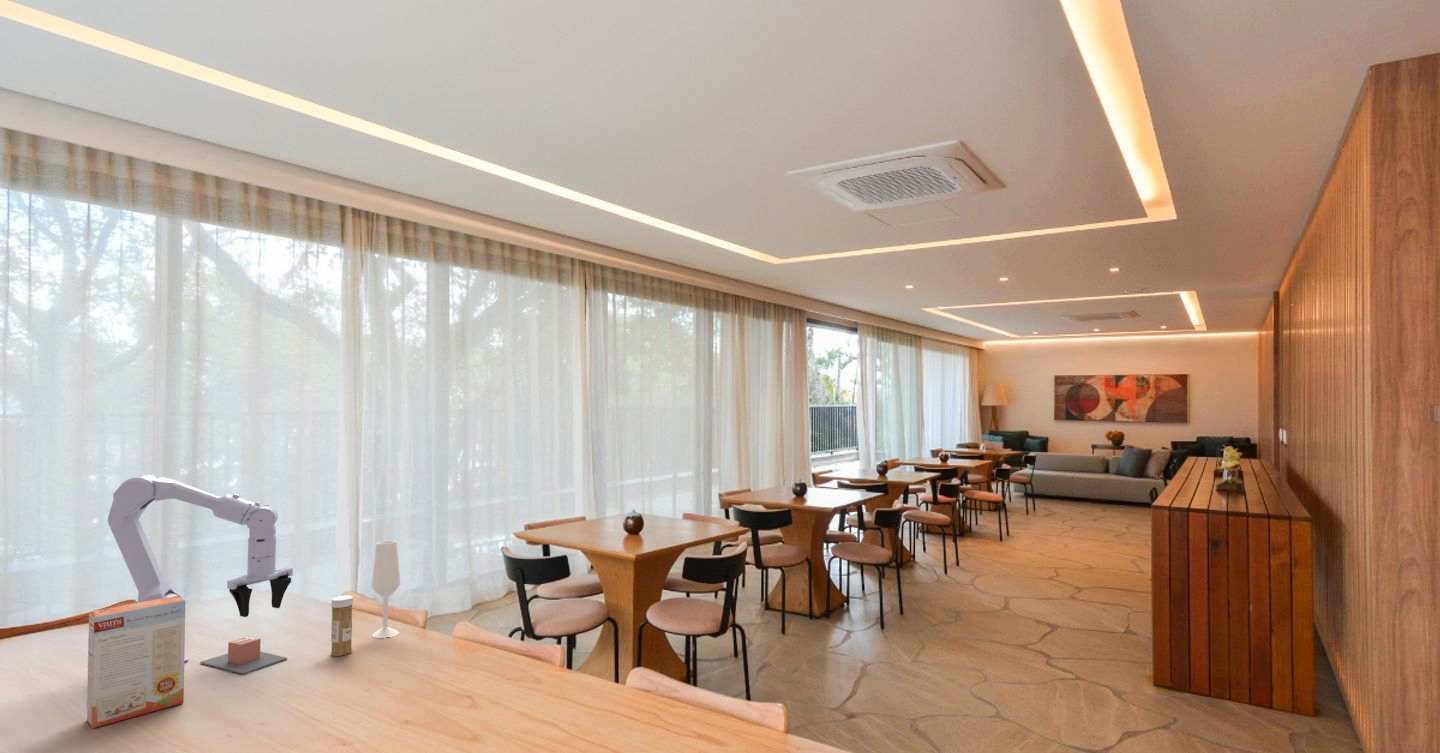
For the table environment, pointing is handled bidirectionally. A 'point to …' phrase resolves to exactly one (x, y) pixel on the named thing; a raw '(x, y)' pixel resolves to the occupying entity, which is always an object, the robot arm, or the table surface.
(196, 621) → the table surface
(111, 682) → the cracker box
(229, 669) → the charcoal mat
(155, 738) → the table surface
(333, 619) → the sprinkles bottle
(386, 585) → the champagne flute
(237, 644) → the lettered cube
